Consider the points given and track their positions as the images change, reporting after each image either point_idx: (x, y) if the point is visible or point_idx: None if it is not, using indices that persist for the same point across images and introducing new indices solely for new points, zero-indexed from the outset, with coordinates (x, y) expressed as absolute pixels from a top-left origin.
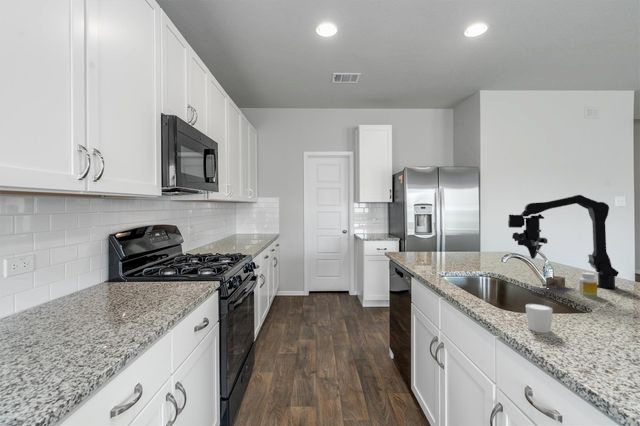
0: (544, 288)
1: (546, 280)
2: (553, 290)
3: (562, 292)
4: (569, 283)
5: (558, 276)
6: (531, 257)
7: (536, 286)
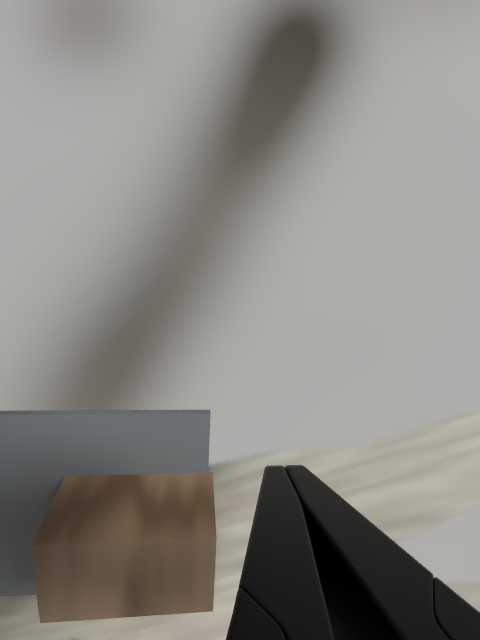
0: (21, 478)
1: (42, 526)
2: (14, 534)
3: (7, 583)
4: (390, 498)
5: (211, 572)
6: (265, 480)
7: (37, 417)
